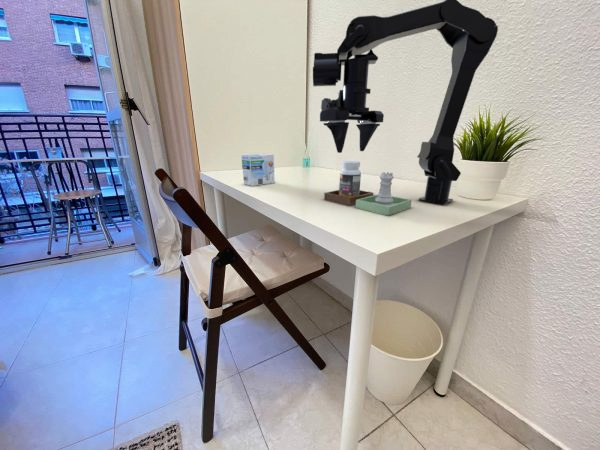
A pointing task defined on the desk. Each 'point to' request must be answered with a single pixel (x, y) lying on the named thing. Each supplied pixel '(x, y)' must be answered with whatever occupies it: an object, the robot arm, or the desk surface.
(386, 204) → the rook chess piece
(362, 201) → the sage tray
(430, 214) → the desk surface
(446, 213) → the desk surface
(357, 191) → the pill bottle
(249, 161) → the light bulb box
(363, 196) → the walnut tray
